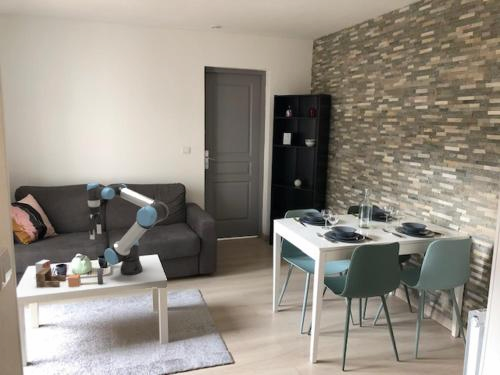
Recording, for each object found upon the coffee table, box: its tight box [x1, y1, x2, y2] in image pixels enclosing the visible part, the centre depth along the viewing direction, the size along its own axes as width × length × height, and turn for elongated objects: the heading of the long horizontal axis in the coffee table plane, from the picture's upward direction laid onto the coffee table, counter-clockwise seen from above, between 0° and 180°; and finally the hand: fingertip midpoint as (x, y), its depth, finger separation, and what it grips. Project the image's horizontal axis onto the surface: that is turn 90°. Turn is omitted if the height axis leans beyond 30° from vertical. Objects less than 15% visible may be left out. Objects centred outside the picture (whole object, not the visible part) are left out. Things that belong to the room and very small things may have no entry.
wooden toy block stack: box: [35, 267, 67, 288], centre depth 269 cm, size 14×11×9 cm
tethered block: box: [67, 267, 104, 288], centre depth 269 cm, size 21×6×10 cm, turn 98°
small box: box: [34, 259, 52, 274], centre depth 282 cm, size 8×6×10 cm
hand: (95, 236), depth 284 cm, fingers open, 13 cm apart
